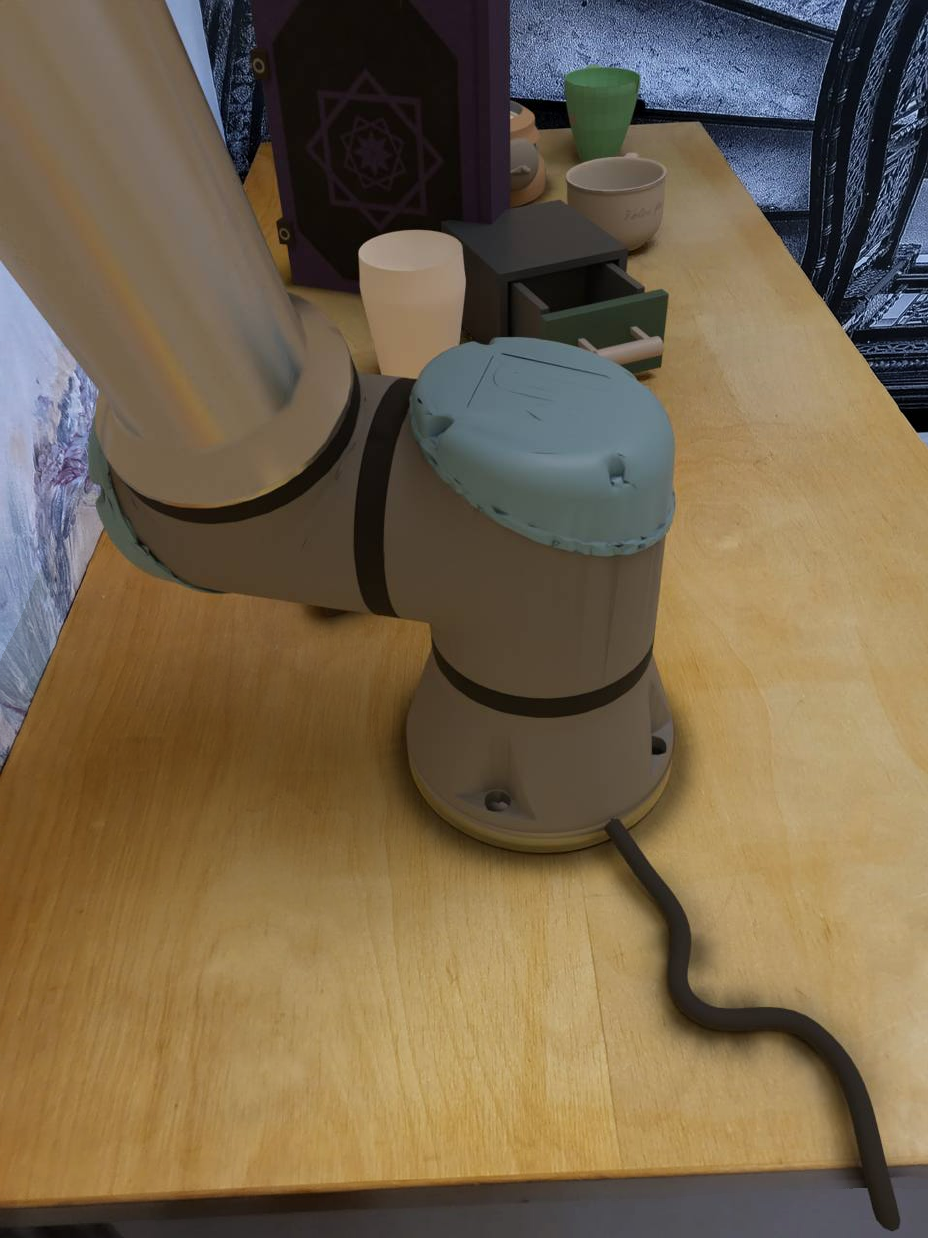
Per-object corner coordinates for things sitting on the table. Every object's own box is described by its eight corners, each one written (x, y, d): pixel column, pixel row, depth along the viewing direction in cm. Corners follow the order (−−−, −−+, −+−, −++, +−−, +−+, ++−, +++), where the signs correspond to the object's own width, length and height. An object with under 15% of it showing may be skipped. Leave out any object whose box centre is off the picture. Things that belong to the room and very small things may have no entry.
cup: (457, 408, 88) (452, 274, 80) (358, 400, 89) (342, 268, 81) (477, 359, 94) (474, 231, 86) (384, 353, 96) (372, 226, 88)
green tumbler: (641, 168, 132) (647, 84, 125) (566, 172, 132) (569, 88, 125) (621, 134, 143) (626, 55, 136) (552, 138, 143) (554, 59, 136)
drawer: (687, 389, 87) (696, 313, 82) (566, 419, 84) (569, 342, 79) (595, 312, 99) (598, 242, 94) (486, 336, 96) (485, 265, 91)
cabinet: (621, 338, 96) (628, 247, 91) (499, 366, 93) (498, 273, 87) (557, 284, 106) (560, 198, 100) (444, 308, 103) (440, 221, 97)
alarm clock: (549, 89, 128) (542, 147, 111) (547, 165, 134) (541, 231, 117) (416, 91, 129) (389, 148, 112) (420, 166, 136) (396, 231, 119)
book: (512, 292, 106) (511, -45, 86) (491, 317, 102) (486, -31, 82) (313, 266, 113) (270, -52, 93) (286, 288, 109) (235, -40, 88)
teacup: (635, 269, 108) (642, 193, 103) (546, 251, 113) (548, 177, 107) (685, 225, 117) (693, 153, 112) (601, 210, 121) (605, 140, 116)
